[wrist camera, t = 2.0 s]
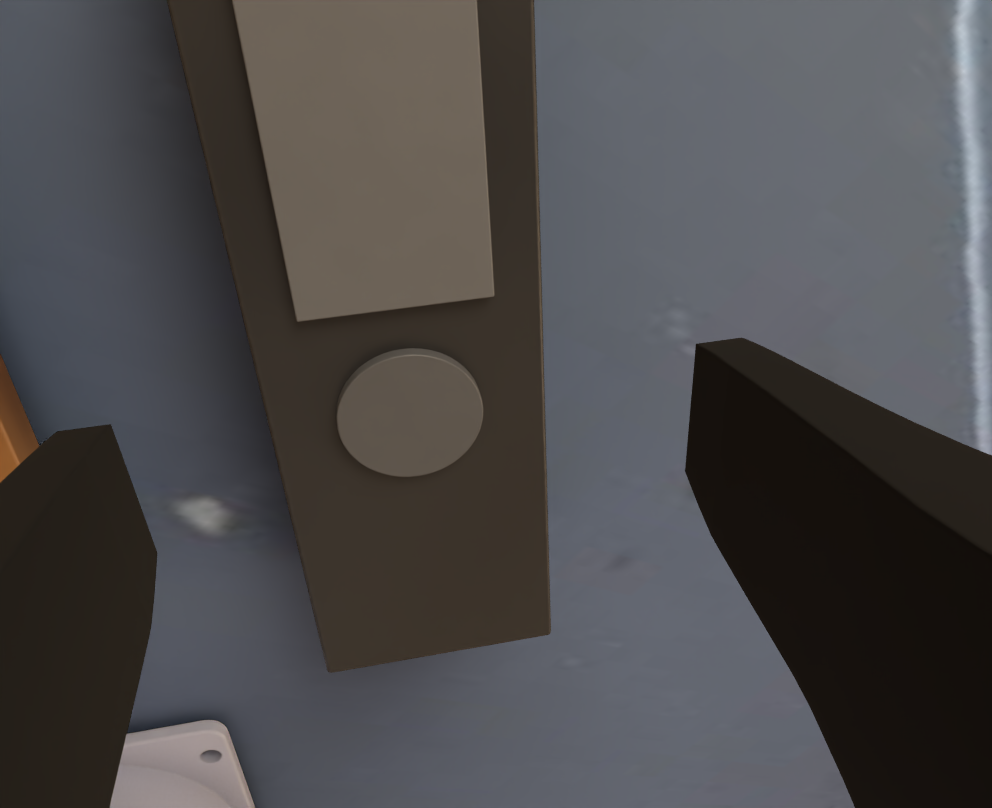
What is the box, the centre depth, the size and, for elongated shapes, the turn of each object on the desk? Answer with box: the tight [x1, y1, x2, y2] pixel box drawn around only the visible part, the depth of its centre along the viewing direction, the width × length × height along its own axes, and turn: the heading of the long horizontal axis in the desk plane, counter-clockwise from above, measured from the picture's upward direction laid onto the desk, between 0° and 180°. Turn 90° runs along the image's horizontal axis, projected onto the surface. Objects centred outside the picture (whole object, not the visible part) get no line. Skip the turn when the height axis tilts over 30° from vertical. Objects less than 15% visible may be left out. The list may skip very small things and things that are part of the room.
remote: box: [167, 0, 551, 673], centre depth 15 cm, size 15×5×4 cm, turn 3°
